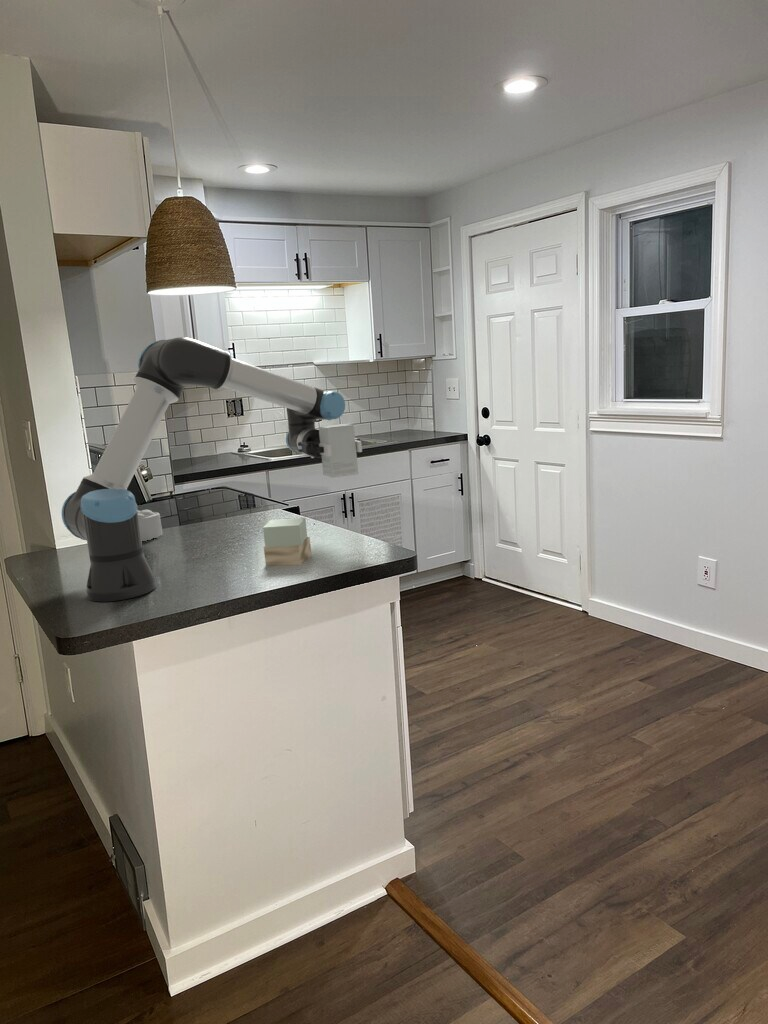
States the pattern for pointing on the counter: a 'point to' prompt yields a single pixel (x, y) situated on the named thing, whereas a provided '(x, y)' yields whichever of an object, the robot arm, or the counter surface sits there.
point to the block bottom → (288, 554)
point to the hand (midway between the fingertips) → (345, 448)
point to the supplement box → (339, 450)
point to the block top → (285, 532)
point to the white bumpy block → (149, 524)
